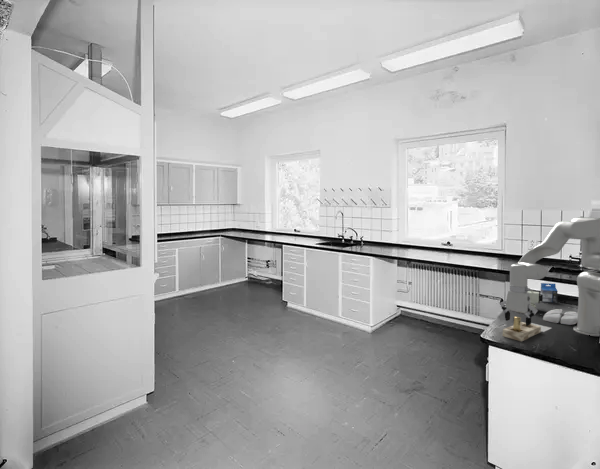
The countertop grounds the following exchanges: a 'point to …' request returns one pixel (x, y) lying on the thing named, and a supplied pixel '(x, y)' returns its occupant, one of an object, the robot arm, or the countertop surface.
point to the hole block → (522, 332)
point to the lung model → (556, 315)
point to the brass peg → (516, 324)
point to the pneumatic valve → (535, 298)
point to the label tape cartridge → (549, 292)
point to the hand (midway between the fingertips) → (517, 322)
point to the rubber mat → (543, 327)
